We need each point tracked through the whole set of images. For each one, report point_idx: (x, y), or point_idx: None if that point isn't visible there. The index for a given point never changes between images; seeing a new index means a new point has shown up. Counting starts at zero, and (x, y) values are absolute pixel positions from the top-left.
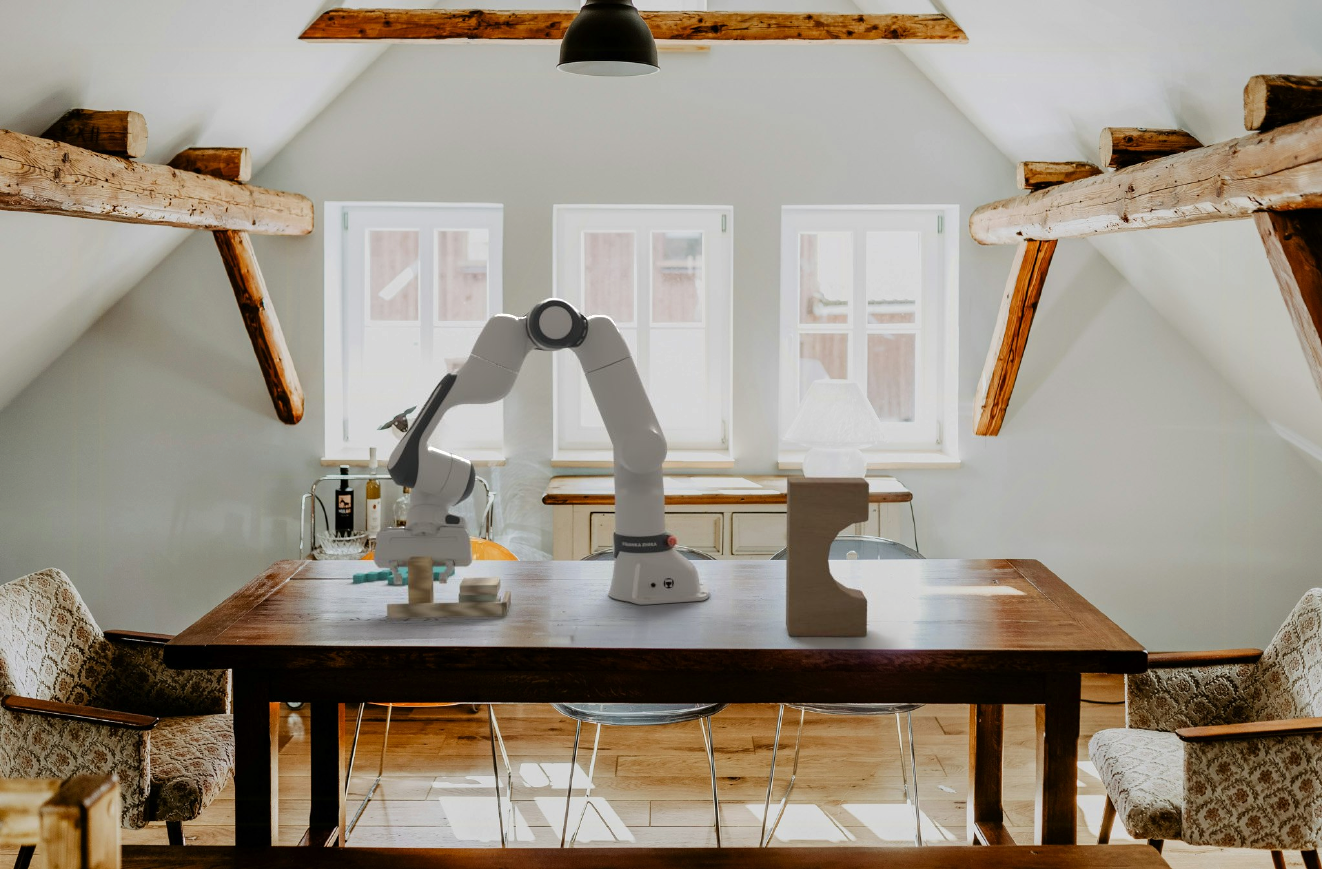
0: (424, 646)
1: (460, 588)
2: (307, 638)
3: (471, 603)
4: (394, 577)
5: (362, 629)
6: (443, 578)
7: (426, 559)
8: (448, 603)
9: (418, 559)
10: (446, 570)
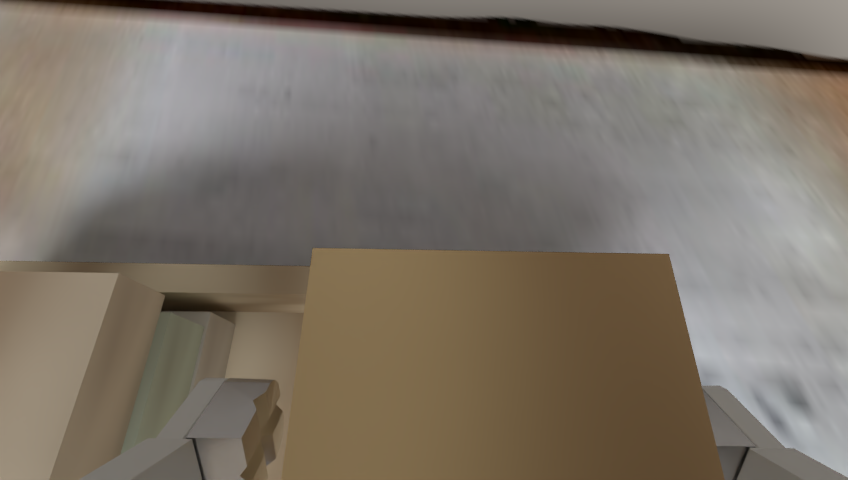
0: (371, 28)
1: (128, 280)
2: (808, 129)
3: (126, 265)
4: (732, 401)
5: (656, 221)
6: (224, 381)
7: (365, 335)
8: (262, 275)
9: (513, 356)
10: (140, 454)
